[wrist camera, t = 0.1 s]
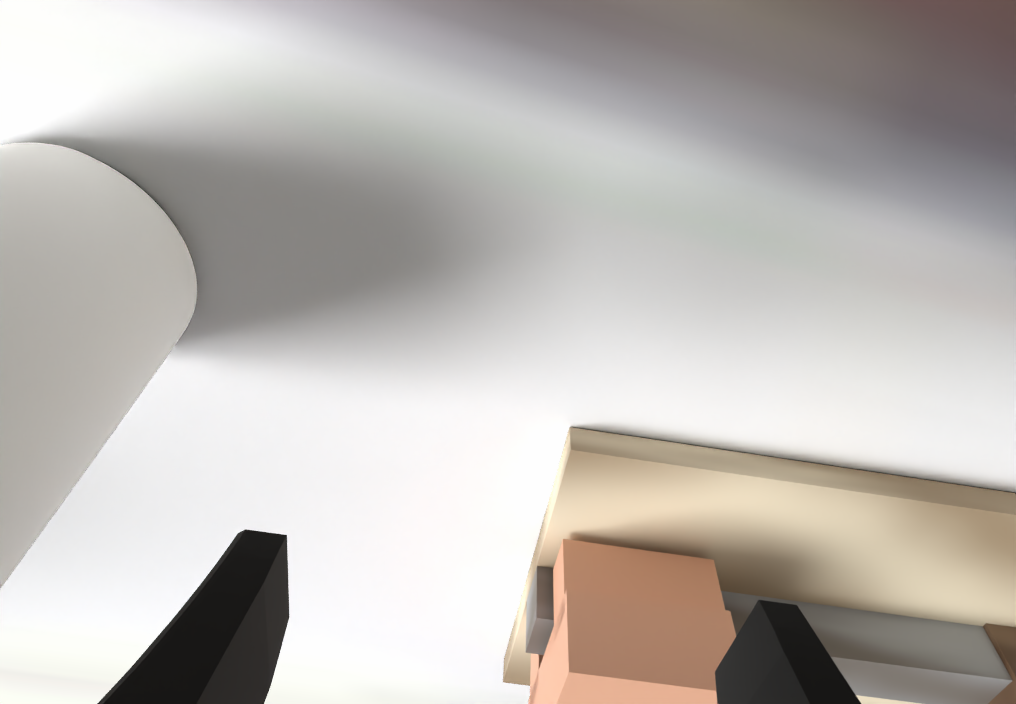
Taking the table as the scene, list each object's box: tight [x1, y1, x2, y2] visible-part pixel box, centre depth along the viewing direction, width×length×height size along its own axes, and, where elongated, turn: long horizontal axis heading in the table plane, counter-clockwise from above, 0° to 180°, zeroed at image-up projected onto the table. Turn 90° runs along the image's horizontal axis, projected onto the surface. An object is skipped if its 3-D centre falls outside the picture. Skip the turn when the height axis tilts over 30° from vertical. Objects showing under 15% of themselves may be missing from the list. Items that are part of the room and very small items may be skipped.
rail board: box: [503, 427, 1016, 704], centre depth 25 cm, size 13×18×4 cm
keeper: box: [529, 539, 736, 704], centre depth 23 cm, size 6×5×5 cm
